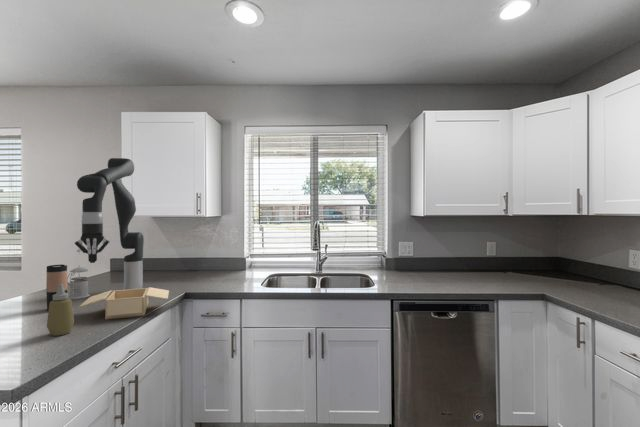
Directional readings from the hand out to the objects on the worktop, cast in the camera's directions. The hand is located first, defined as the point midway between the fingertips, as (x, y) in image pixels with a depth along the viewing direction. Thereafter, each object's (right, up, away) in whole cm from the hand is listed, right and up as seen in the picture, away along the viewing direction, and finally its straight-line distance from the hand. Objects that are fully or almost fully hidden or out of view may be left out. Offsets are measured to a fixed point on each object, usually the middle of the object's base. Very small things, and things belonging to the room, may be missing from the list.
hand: (92, 262), depth 147 cm
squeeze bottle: (+3, -23, -22) cm, 32 cm away
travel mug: (-23, -23, +9) cm, 34 cm away
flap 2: (+20, -14, +8) cm, 26 cm away
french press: (-30, -23, +33) cm, 50 cm away
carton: (+13, -23, +5) cm, 26 cm away
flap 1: (+6, -14, +2) cm, 16 cm away
